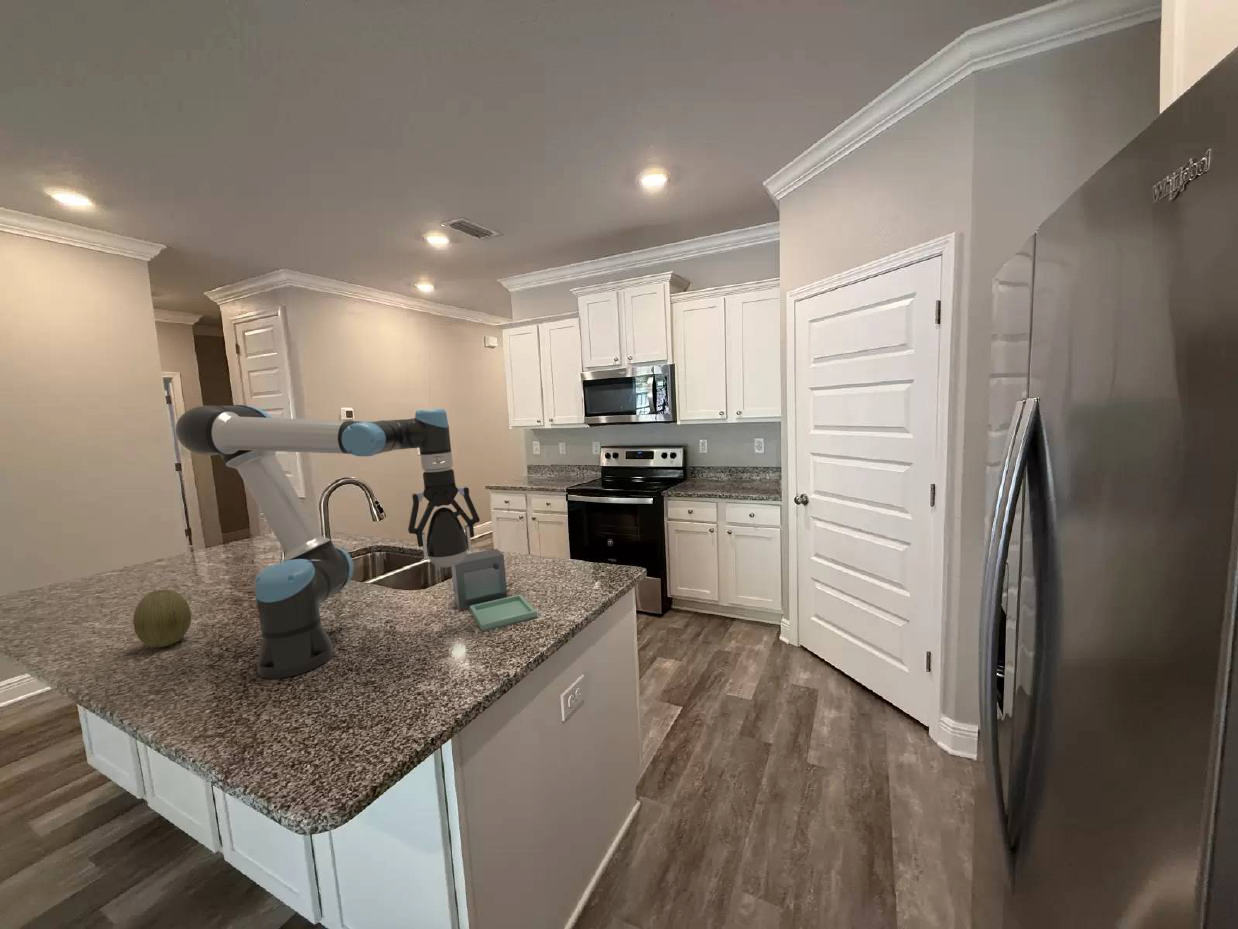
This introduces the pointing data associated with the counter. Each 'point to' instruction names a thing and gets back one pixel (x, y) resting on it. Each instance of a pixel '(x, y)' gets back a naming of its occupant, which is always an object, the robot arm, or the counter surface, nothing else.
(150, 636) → the fruit
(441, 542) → the pump dispenser
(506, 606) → the tray
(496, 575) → the unit
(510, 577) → the counter surface
